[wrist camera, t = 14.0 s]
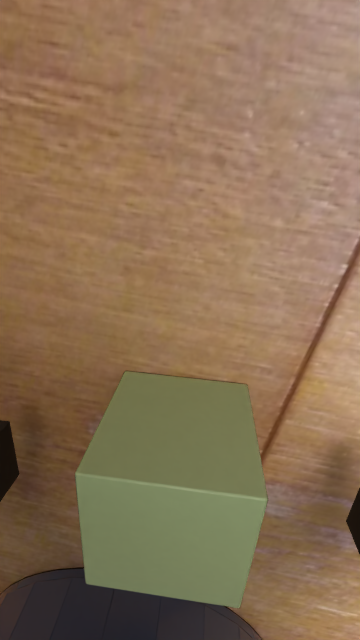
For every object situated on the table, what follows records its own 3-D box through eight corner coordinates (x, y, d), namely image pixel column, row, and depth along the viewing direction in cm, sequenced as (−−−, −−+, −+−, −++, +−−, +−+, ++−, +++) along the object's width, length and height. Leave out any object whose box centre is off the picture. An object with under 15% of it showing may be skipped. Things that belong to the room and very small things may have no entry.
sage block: (125, 460, 14) (84, 585, 10) (124, 369, 12) (73, 473, 8) (231, 474, 14) (240, 610, 10) (248, 383, 12) (269, 500, 8)
